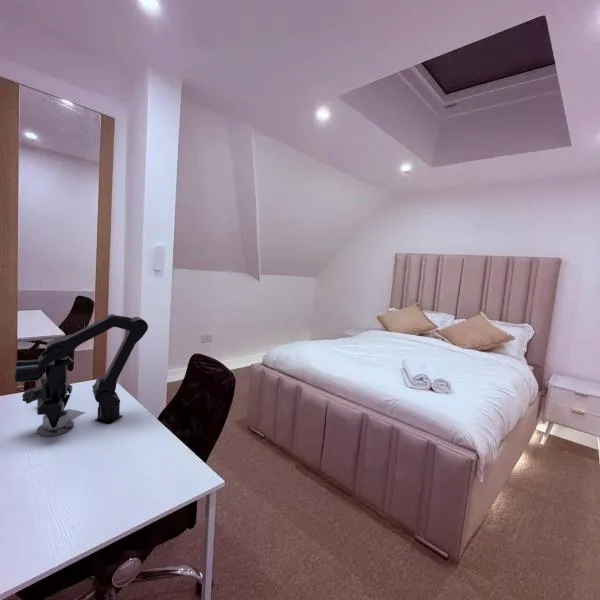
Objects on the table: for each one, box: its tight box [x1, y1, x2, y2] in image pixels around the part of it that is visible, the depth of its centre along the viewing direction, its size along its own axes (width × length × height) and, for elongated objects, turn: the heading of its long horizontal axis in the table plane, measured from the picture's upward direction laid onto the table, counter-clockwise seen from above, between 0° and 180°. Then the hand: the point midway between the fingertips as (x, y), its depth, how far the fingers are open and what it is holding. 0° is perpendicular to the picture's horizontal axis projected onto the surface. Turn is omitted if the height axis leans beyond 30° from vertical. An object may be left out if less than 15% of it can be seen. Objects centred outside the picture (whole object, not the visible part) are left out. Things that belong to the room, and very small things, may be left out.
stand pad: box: [64, 408, 87, 421], centre depth 120 cm, size 8×8×1 cm
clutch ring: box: [42, 409, 68, 431], centre depth 110 cm, size 6×6×4 cm
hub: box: [36, 420, 75, 438], centre depth 110 cm, size 10×10×4 cm
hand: (56, 422), depth 110 cm, fingers closed on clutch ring, 6 cm apart
